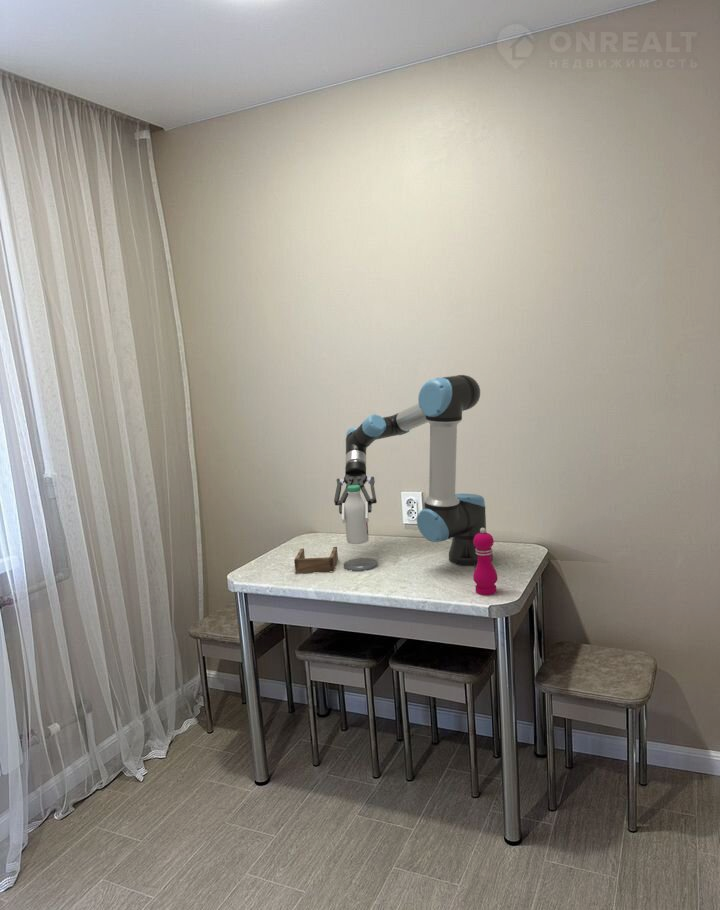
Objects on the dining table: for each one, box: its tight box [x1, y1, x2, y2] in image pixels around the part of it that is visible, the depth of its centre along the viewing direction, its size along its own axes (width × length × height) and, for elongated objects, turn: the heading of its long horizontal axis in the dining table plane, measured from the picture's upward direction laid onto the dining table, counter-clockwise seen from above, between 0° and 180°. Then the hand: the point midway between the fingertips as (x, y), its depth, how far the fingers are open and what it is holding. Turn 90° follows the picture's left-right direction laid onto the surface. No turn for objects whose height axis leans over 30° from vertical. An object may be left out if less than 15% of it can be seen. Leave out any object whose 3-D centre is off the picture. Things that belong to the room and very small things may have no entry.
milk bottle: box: [344, 485, 370, 545], centre depth 245 cm, size 8×8×20 cm
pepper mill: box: [473, 528, 498, 596], centre depth 212 cm, size 7×7×20 cm
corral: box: [293, 546, 339, 574], centre depth 250 cm, size 13×13×5 cm
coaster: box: [343, 557, 379, 572], centre depth 248 cm, size 12×12×1 cm
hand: (355, 520), depth 242 cm, fingers closed on milk bottle, 7 cm apart
